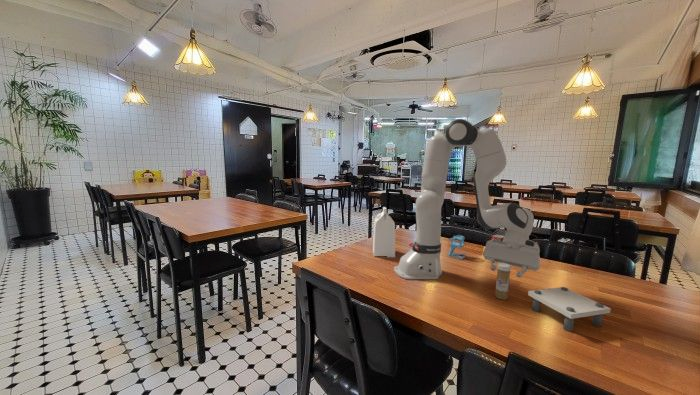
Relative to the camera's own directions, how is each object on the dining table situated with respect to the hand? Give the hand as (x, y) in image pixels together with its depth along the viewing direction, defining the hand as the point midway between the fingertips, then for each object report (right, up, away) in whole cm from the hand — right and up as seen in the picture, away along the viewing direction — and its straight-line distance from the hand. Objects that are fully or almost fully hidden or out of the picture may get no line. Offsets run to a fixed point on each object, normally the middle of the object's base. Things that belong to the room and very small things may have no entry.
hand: (505, 273), depth 114 cm
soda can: (+20, -4, +46) cm, 50 cm away
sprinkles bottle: (-2, -10, 0) cm, 10 cm away
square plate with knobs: (+13, -12, -14) cm, 22 cm away
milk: (-42, -2, +50) cm, 66 cm away
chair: (-2, -3, +47) cm, 47 cm away
